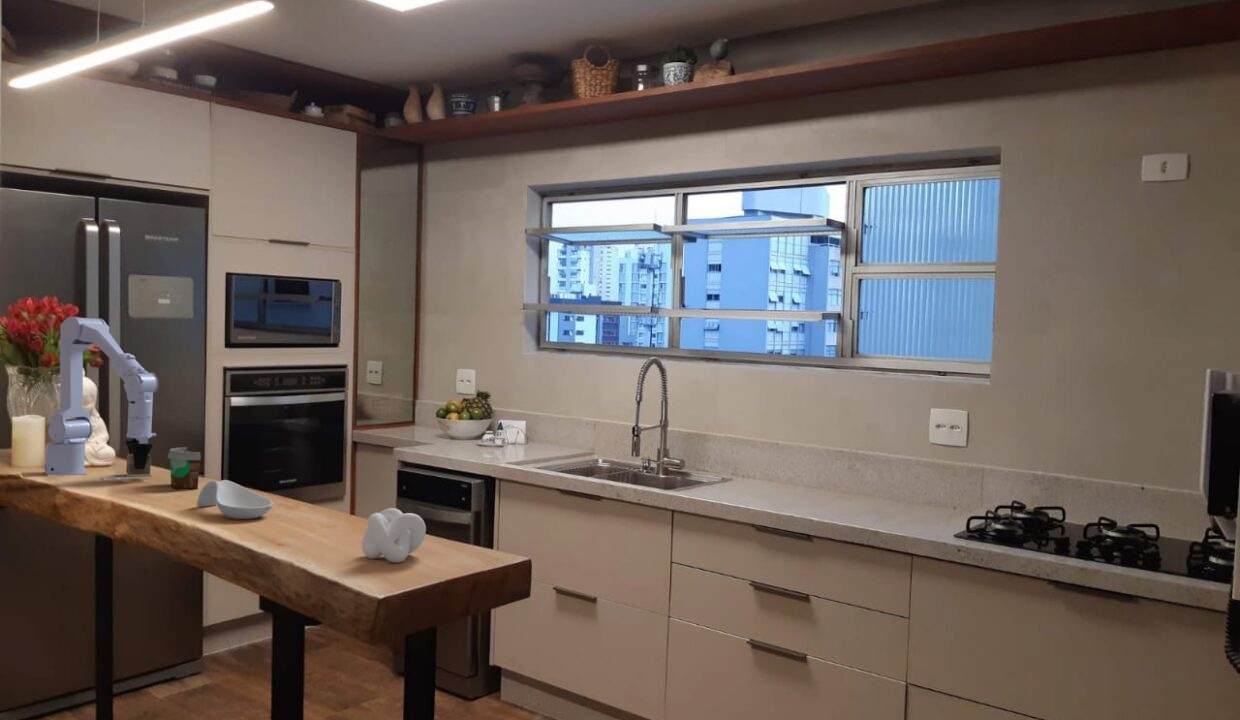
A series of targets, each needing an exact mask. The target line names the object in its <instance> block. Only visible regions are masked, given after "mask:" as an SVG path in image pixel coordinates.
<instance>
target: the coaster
mask: <svg viewBox="0 0 1240 720" xmlns="http://www.w3.org/2000/svg"><path fill="white" fill-rule="evenodd" d="M151 482H153V479H152V478H149V477H147V478H146V477H128V478H126V479H124V480H122V483H127V484H129V483H130V484H141V483H143V484H144V483H151Z"/></svg>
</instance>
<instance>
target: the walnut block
mask: <svg viewBox="0 0 1240 720" xmlns="http://www.w3.org/2000/svg"><path fill="white" fill-rule="evenodd" d="M151 457H152V456H151V455H150V453H149V454H148V457H147V461H146V465H145V468H144V469H135V466H134V458H133V454H129V453H127V454H126V469H125V472H126V474H127V473H128V474H129V475H137V474H150V475H151V470H150V460H151V461H152V458H151Z"/></svg>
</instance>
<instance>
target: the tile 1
mask: <svg viewBox="0 0 1240 720" xmlns="http://www.w3.org/2000/svg"><path fill="white" fill-rule="evenodd" d="M124 479H127V478H126V476H111V477H106V476H105V477H104V476H103V477H99V480H100V481H101V482H108V481H109V482H110V481H123V480H124Z"/></svg>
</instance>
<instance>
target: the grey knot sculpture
mask: <svg viewBox="0 0 1240 720" xmlns="http://www.w3.org/2000/svg"><path fill="white" fill-rule="evenodd" d="M425 523H426V522H425V521H424V519H423V518H422V517H421V516H420V515H418V514H416V513H412V512H410V513H409V512H406V513H404V512H403V511H401V510H400V509H399V508H394V507H389V508H386V509H384V510H382V511H380V512H374V513H372V514H370V516H368V518H367V528H366V529H365V532H364V534H363V537H362V538H363V539H362V543H361V546H362V547H361V549H362V553H364V555H365V557H367V558H368V559H371V560H373V559H379V558H381V557H382V556H383V557H384V558H385V559H386V560H388V561H389V562H390V563H395V564H398V563H399V564H401V563H402V562H404V561H405V560H406V559H407V558H408V556H409V555H410V554H412V553H414V552H416V551H417V549H419V548H420V547H421V545H422V544H423V543H424V541H425V537H426V533H427V532H426V531H427V527H426V526H427V525H426V524H425Z"/></svg>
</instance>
